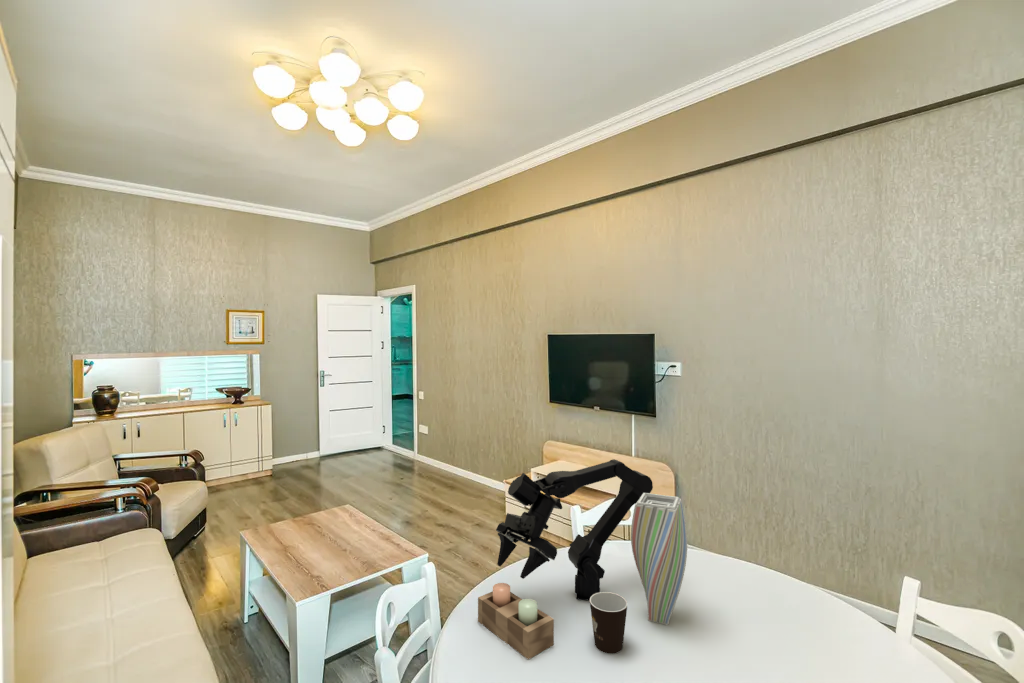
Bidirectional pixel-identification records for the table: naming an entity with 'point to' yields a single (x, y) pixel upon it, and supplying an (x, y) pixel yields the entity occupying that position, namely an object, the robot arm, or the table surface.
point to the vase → (659, 551)
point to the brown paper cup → (608, 621)
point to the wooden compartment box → (516, 626)
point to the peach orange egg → (501, 594)
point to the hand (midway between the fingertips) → (509, 571)
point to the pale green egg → (527, 611)
